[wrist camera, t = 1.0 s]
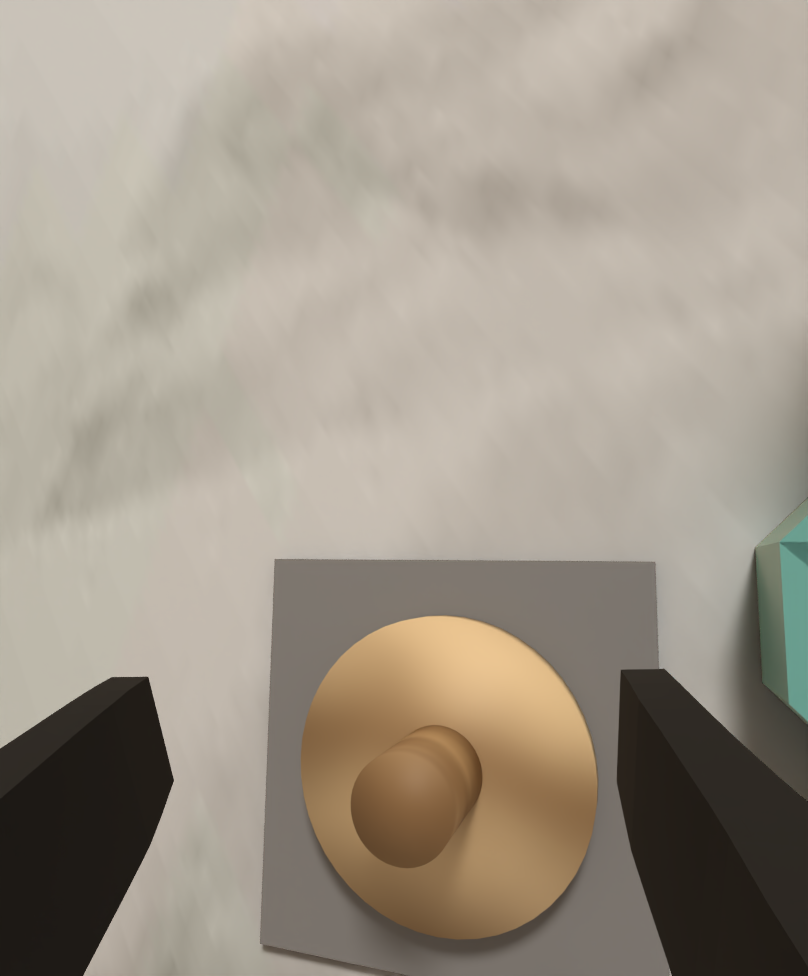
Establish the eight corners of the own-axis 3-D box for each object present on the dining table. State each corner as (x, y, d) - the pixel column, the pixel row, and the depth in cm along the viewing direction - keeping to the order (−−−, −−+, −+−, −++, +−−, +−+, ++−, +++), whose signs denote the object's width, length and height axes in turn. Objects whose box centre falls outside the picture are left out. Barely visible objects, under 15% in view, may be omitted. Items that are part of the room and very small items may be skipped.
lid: (602, 949, 19) (594, 1054, 15) (310, 895, 22) (235, 970, 18) (594, 619, 20) (584, 630, 16) (317, 610, 24) (249, 618, 19)
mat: (670, 1023, 19) (671, 1032, 18) (265, 937, 23) (259, 943, 23) (654, 561, 21) (655, 561, 20) (280, 559, 25) (274, 559, 24)
